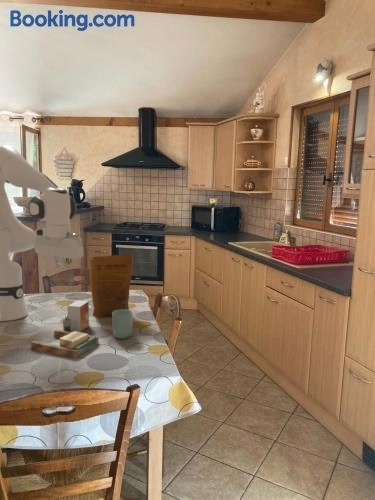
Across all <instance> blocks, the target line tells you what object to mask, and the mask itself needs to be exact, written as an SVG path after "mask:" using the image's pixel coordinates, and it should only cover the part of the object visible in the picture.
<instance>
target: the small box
mask: <svg viewBox="0 0 375 500" xmlns="http://www.w3.org/2000/svg"><path fill="white" fill-rule="evenodd" d="M89 303H90V302H89V301H86V300H75V301H73V302H72V303H70V304H68V305H67V314H68V318H69V319H71V331H73V332H74V331H77V332H82V331H83V330H84V329H86V328H88V327H89V325H90V314H89V312H90V307H89V305H90V304H89Z"/></svg>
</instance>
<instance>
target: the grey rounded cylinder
mask: <svg viewBox="0 0 375 500" xmlns="http://www.w3.org/2000/svg"><path fill="white" fill-rule="evenodd" d="M64 315H65V318H64V319H63V320H62V324H63V326H62V328H63V329H62V330H64V331H69V332H74V331H71V319H69V318H68V313H67V314H64Z"/></svg>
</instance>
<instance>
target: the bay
mask: <svg viewBox="0 0 375 500" xmlns="http://www.w3.org/2000/svg"><path fill="white" fill-rule="evenodd" d="M70 333H72V332H69V331H64V330H63V329H57V328H56V329H54V330H53V337H55V338H59V339H60V338H61V337H64V336H66V335H68V334H70ZM98 344H99V336H95V335H90V334H88V340H86V341H84V342H83V343H81V344H79V345H78V346H76V347H74V349H72V348H67V347H62V346H60V345H56V344H52V343H48V342H43V341H37V340H32V341H31V342H30V349H31V350H35V351H38V352H39V351H40V352H45V353H48V354H54V355H57V356H63V357H68V358H72V359H76V358H78V357H80V356H81V355H83V354H84V353H87V351H89V350H91V349H92V348H94V346H96V345H98Z"/></svg>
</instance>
